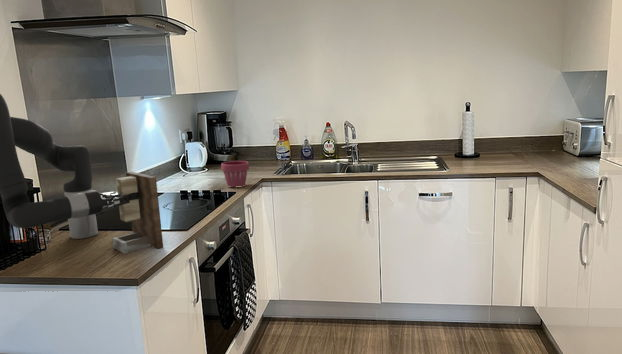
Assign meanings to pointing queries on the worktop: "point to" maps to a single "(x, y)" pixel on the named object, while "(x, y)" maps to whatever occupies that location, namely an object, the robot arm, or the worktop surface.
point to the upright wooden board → (143, 218)
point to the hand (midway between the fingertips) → (135, 194)
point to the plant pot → (235, 172)
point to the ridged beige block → (132, 208)
